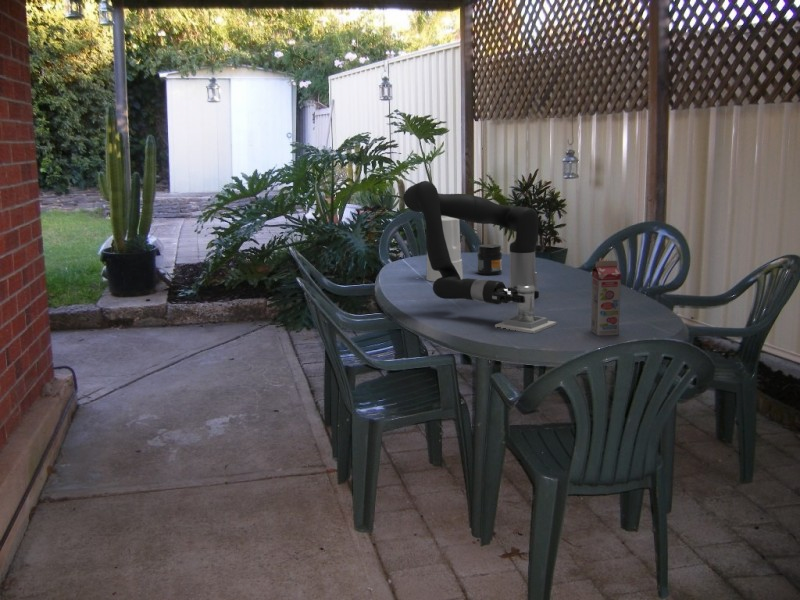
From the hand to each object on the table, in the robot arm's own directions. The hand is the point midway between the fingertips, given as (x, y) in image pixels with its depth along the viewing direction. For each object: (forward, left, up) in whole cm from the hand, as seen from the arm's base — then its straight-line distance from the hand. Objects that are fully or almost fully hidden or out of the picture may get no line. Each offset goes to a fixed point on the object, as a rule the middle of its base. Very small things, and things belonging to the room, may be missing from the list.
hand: (531, 297), depth 259 cm
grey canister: (+1, -2, -9) cm, 9 cm away
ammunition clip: (-52, -39, -10) cm, 65 cm away
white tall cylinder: (-5, -89, -10) cm, 89 cm away
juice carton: (-17, +15, -10) cm, 25 cm away
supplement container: (-27, -92, -10) cm, 96 cm away
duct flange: (+1, -2, -10) cm, 10 cm away
